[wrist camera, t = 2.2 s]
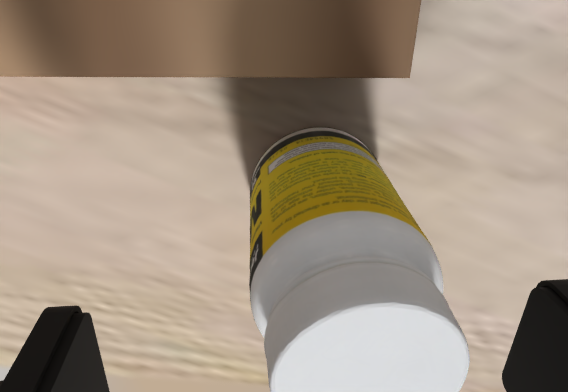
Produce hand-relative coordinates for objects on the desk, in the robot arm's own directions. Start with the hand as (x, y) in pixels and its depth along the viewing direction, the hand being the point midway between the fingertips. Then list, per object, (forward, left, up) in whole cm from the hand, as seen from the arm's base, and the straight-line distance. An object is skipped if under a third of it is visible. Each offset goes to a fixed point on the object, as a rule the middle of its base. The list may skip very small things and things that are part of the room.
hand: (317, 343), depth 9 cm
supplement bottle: (-1, 0, -8) cm, 8 cm away
